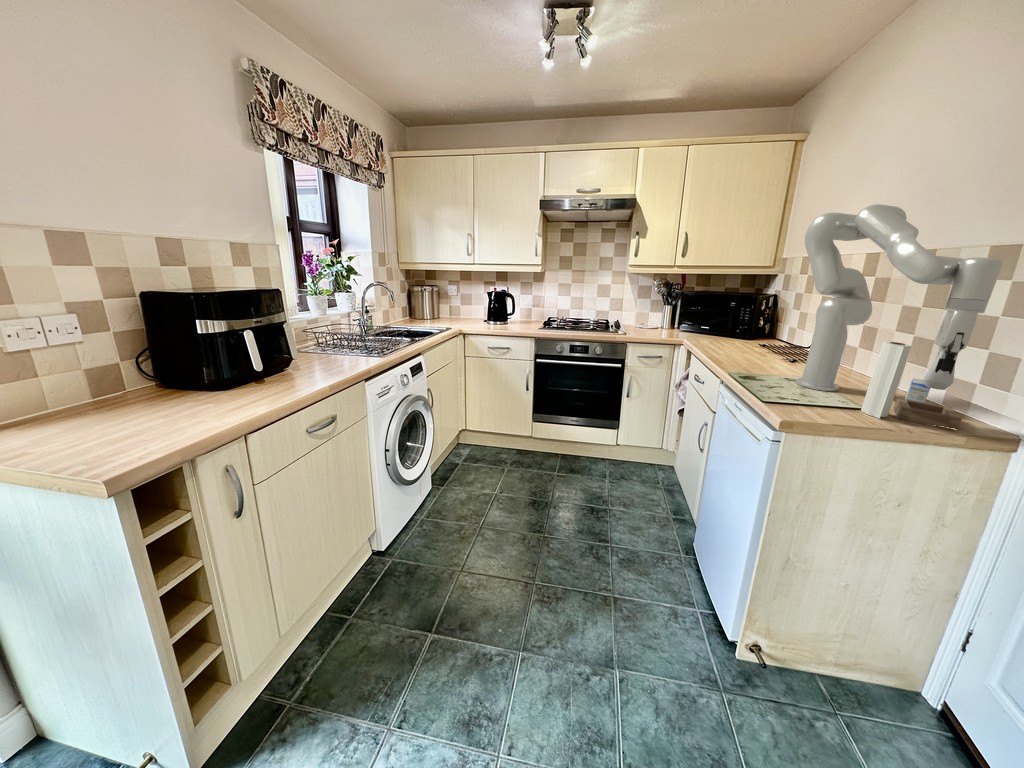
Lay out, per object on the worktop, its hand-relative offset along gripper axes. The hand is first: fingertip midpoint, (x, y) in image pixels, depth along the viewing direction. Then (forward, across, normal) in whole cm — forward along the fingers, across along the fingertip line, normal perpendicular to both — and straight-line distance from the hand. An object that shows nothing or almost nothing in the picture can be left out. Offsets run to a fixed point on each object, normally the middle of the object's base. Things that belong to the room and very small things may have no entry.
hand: (941, 371), depth 114 cm
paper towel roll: (+14, +6, -12) cm, 20 cm away
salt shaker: (+5, 0, 0) cm, 5 cm away
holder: (+14, 0, 0) cm, 14 cm away
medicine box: (+15, -12, -1) cm, 19 cm away
